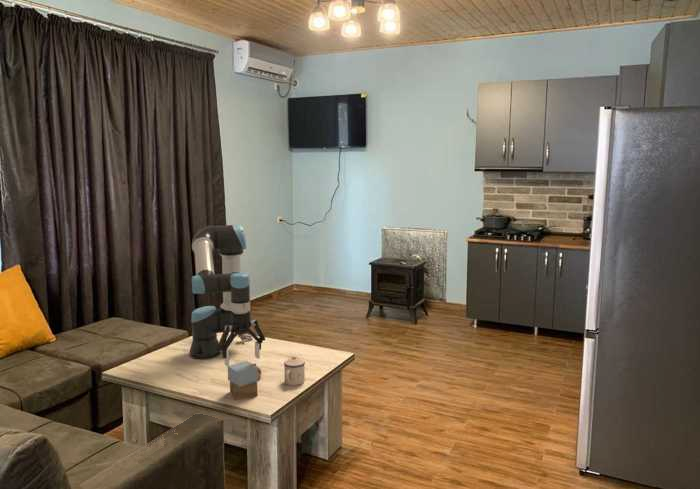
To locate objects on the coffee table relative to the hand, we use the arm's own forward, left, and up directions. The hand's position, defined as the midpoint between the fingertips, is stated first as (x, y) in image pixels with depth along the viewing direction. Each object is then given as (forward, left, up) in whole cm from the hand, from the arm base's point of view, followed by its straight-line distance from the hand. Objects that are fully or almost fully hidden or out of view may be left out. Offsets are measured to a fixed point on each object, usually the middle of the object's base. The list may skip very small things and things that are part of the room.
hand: (242, 361), depth 221 cm
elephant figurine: (-58, +28, -14) cm, 67 cm away
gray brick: (0, 0, -8) cm, 8 cm away
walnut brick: (+1, 0, -14) cm, 14 cm away
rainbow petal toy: (-12, +9, -14) cm, 21 cm away
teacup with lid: (+3, +22, -14) cm, 26 cm away
